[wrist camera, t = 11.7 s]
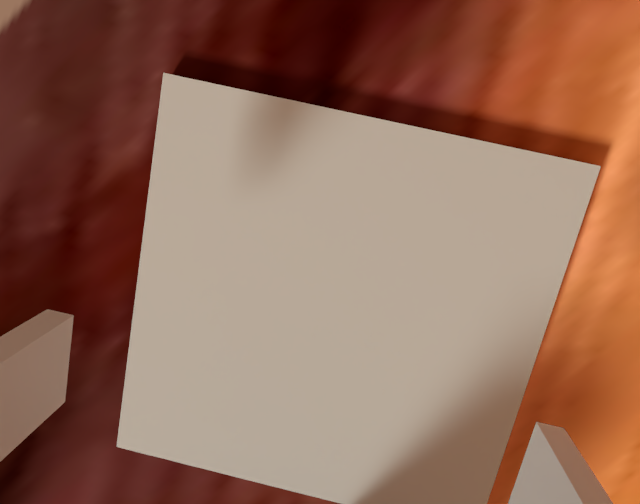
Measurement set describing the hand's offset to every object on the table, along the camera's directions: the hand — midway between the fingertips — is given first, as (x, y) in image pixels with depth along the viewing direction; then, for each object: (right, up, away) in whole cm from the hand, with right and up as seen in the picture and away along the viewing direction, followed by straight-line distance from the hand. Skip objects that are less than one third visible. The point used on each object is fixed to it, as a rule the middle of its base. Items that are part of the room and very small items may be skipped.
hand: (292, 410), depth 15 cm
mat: (+1, +2, +7) cm, 7 cm away
